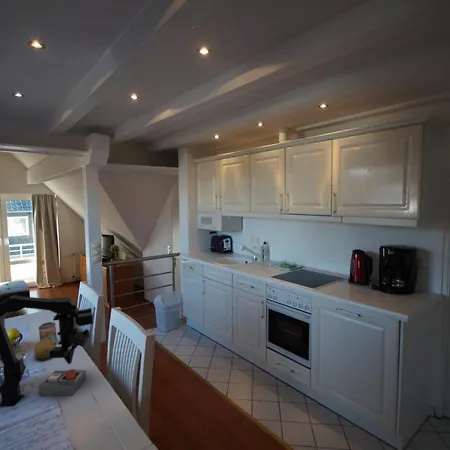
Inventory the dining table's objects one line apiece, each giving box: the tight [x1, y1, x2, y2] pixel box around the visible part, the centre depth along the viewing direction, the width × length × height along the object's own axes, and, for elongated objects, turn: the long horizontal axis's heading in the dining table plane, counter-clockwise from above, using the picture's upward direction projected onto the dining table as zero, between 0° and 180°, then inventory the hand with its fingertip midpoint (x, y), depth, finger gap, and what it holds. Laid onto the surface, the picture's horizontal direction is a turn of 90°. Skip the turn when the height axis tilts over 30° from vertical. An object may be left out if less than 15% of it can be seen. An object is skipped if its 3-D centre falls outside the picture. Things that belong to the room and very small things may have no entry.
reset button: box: [65, 368, 76, 380], centre depth 135 cm, size 4×4×5 cm
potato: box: [33, 339, 56, 359], centre depth 163 cm, size 10×14×8 cm
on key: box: [47, 373, 62, 382], centre depth 136 cm, size 4×4×5 cm
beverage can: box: [38, 321, 58, 345], centre depth 176 cm, size 9×8×12 cm
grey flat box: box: [37, 369, 87, 397], centre depth 136 cm, size 12×14×5 cm
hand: (69, 363), depth 135 cm, fingers closed
